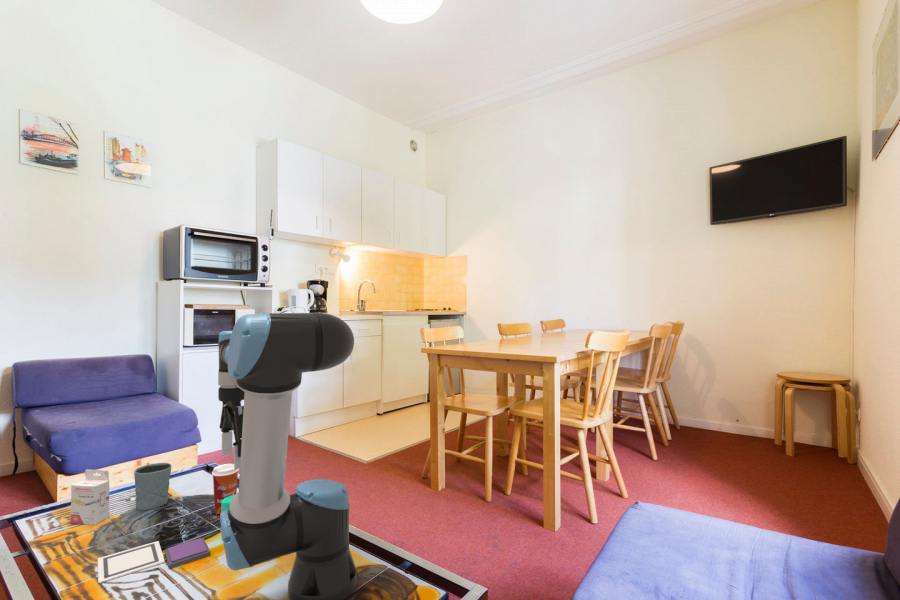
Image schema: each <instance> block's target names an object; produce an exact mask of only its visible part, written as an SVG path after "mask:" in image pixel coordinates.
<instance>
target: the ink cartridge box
mask: <svg viewBox="0 0 900 600" xmlns="http://www.w3.org/2000/svg"><path fill="white" fill-rule="evenodd" d="M96 473H97V474H98V475H97V474H96ZM99 474H100V475H99ZM109 475H110V474H109V471H108V470H104V469H85V471H84V476H85V479H82V480H80V481H78V482H75V483H72V484H71V486H70V489H71V490H70V492H71V493H70V524H74V525H91V526H97V525H98V524H99V523H101V522H103V521H105V520H107V519H109V518H110V476H109Z"/></svg>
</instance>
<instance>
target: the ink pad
mask: <svg viewBox="0 0 900 600" xmlns="http://www.w3.org/2000/svg"><path fill="white" fill-rule="evenodd" d="M164 553H165V554H164V558H165V559H166V562H167V563H166V564H167V566H168V569H170V570H171V569H174V568H176V567H180V566H182V565H186V564H189V563H192V562H194V561H198V560H200V559H204V558H206V557H210V556H211V550H210V547H209V546H208V544H207V542H206V540H205V538H204V537H201V538H197V539H193V540H190V541H186V542H184V543H180V544H178V545H177V544H176V545H174V546H171V547H167V548H166V549H164Z"/></svg>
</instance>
